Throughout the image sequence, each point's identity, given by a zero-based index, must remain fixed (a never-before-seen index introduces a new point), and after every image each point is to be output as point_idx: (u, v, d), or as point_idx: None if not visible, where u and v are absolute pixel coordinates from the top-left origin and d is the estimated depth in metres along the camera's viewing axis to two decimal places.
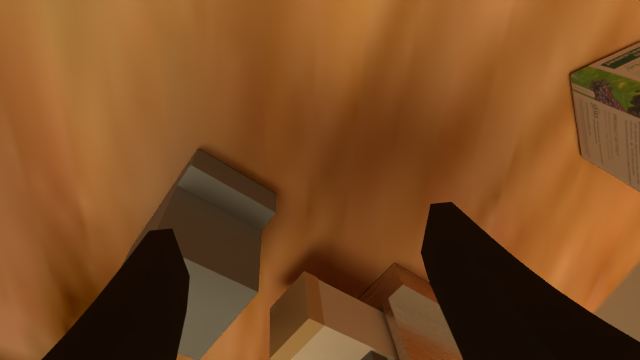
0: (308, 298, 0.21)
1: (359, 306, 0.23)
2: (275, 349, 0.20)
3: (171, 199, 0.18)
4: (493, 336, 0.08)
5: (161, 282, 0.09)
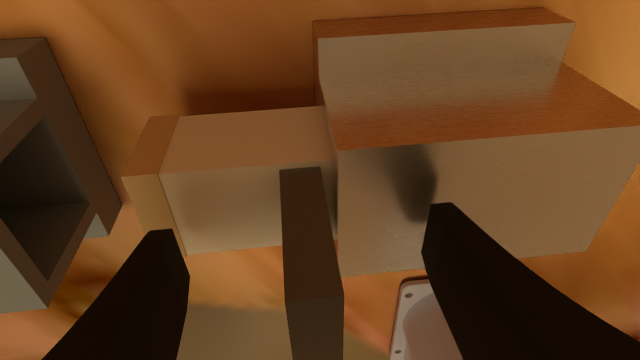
0: (136, 149, 0.12)
1: (268, 117, 0.13)
2: None
3: None
4: (493, 336, 0.08)
5: (161, 282, 0.09)
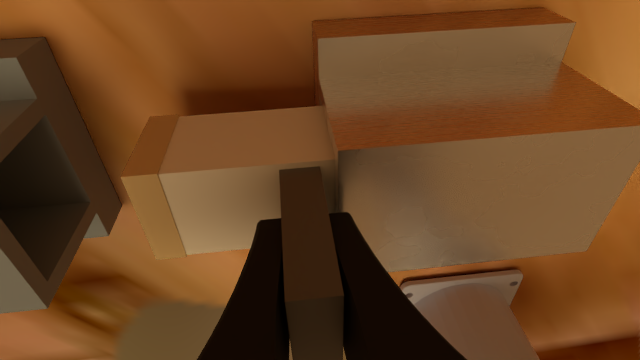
0: (136, 149, 0.12)
1: (268, 117, 0.13)
2: (152, 243, 0.13)
3: None
4: (357, 353, 0.08)
5: None
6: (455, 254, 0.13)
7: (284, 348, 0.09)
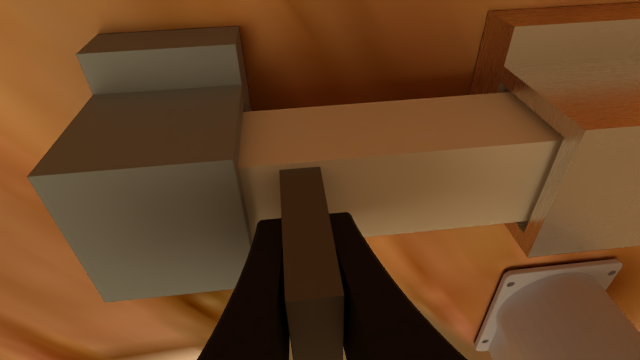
0: None
1: (268, 117, 0.13)
2: None
3: (80, 112, 0.12)
4: (357, 353, 0.08)
5: (283, 269, 0.09)
6: None
7: (284, 348, 0.09)
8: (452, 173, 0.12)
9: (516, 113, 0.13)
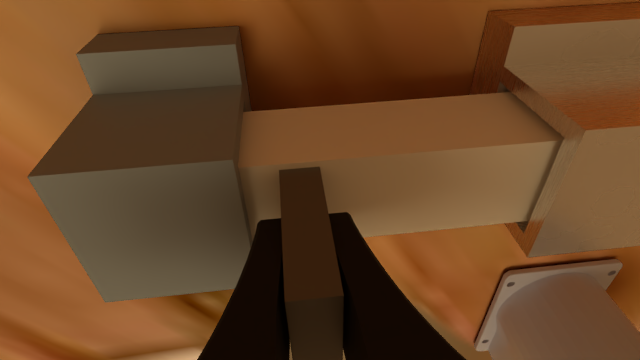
0: None
1: (268, 117, 0.13)
2: None
3: (80, 112, 0.12)
4: (356, 353, 0.08)
5: None
6: None
7: (284, 348, 0.09)
8: (452, 173, 0.12)
9: (516, 113, 0.13)
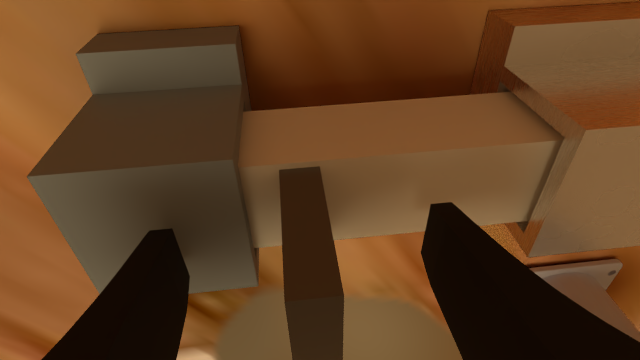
0: None
1: (268, 117, 0.13)
2: None
3: (80, 112, 0.12)
4: (493, 336, 0.08)
5: (161, 282, 0.09)
6: None
7: None
8: (452, 173, 0.12)
9: (517, 113, 0.13)
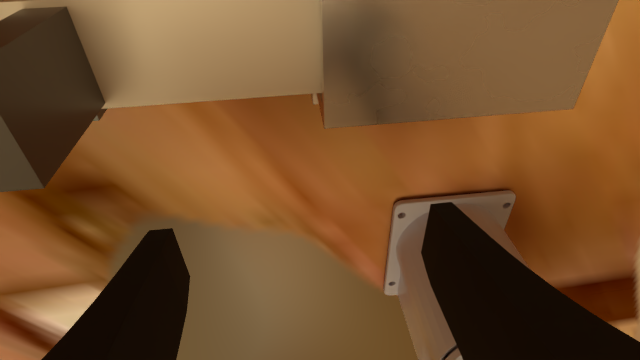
0: None
1: None
2: None
3: None
4: (493, 336, 0.08)
5: (161, 282, 0.09)
6: (441, 104, 0.13)
7: None
8: (220, 23, 0.12)
9: None
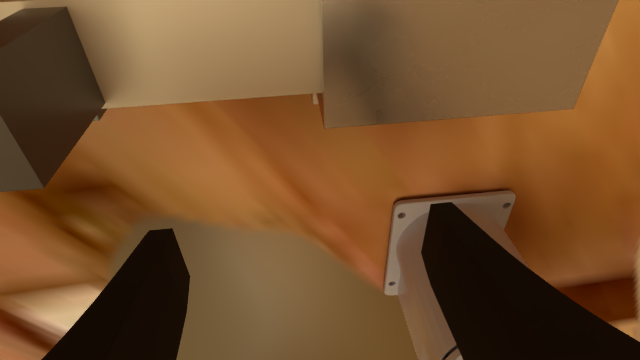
0: None
1: None
2: None
3: None
4: (493, 336, 0.08)
5: (161, 282, 0.09)
6: (441, 104, 0.13)
7: None
8: (220, 23, 0.12)
9: None
